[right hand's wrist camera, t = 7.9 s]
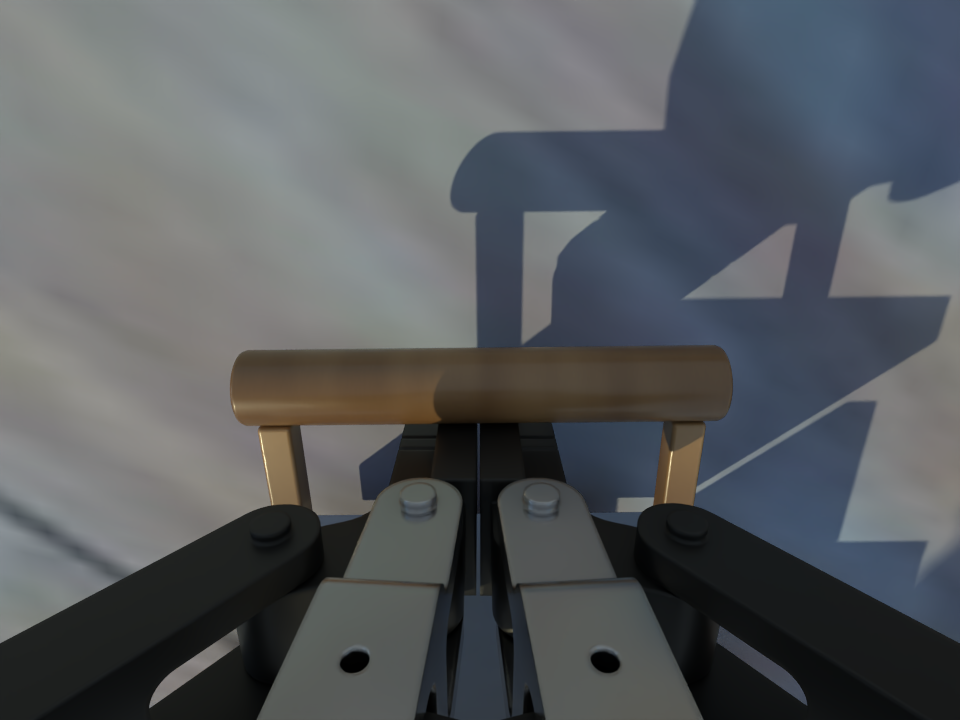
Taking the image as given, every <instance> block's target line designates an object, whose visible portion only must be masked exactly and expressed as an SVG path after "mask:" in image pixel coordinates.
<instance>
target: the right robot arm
mask: <svg viewBox="0 0 960 720" xmlns="http://www.w3.org/2000/svg"><path fill="white" fill-rule="evenodd" d="M557 448H558V447H557V443H556V439H555V435H554V431H553V427H552V423H480V596H492V612H493V617H494V619H495V621H496V641H497V649H498V657H499V665H500V673H501V681H502V689H503V697H504V705H505V713H506V719H502V720H960V643H958V642H956V641H954V640H952V639H950V638H948V637H947V636H945V635H943V634H941V633H939V632H937V631H935V630H933V629H931V628H929V627H928V626H926V625H924V624H922V623H920V622H918V621H916V620H914V619H912V618H910V617H909V616H907V615H905V614H903V613H901V612H899V611H897V610H895V609H893V608H891V607H890V606H888V605H886V604H884V603H882V602H880V601H878V600H876V599H874V598H872V597H871V596H869V595H867V594H865V593H863V592H861V591H859V590H857V589H855V588H853V587H852V586H850V585H848V584H846V583H844V582H842V581H840V580H838V579H836V578H834V577H833V576H831V575H829V574H827V573H825V572H823V571H821V570H819V569H817V568H815V567H814V566H812V565H810V564H808V563H806V562H804V561H802V560H800V559H798V558H796V557H795V556H793V555H791V554H789V553H787V552H785V551H783V550H781V549H779V548H777V547H776V546H774V545H772V544H770V543H768V542H766V541H764V540H762V539H760V538H758V537H757V536H755V535H753V534H751V533H749V532H747V531H745V530H743V529H741V528H739V527H738V526H736V525H734V524H732V523H730V522H728V521H726V520H724V519H722V518H720V517H719V516H717V515H715V514H713V513H711V512H709V511H706V510H704V509H701V508H698V507H695V506H691V505H687V504H680V503H663V504H658V505H654V506H651V507H649V508H647V509H646V510H644V511H643V512H642V513H641V514H640V516H639V518H638V521H637V527H634V526H629V525H625V524H620V523H615V522H611V521H607V520H604V519H601V518H598V517H595V516H593V515H591V514H590V512H589V509H588V507H587V504H586V502H585V500H584V498H583V496H582V495H581V494H580V493H579V491H577V490H576V489H575V488H573V487H572V486H570V485H568V484H567V483H566V479H565V475H564V471H563V467H562V463H561V459H560V455H559V451H558V449H557ZM476 572H477V423H476V424H405V427H404V431H403V435H402V439H401V442H400V446H399V450H398V454H397V458H396V462H395V465H394V469H393V473H392V477H391V481H390V484H389V486H388V487H387V488H385V489H384V490H383V491H381V493H380V494H379V495H378V496H377V498H376V500H375V502H374V505H373V507H372V509H371V511H370V512H368V513H366V514H364V515H362V516H360V517H357V518H355V519H352V520H348V521H344V522H340V523H335V524H330V525H325V526H321V523H320V519H319V517H318V516H317V514H316V513H315V512H313V511H312V510H311V509H308V508H306V507H303V506H300V505H293V504H280V505H272V506H267V507H263V508H260V509H257V510H254V511H252V512H250V513H247V514H245V515H243V516H241V517H240V518H238V519H236V520H234V521H232V522H230V523H228V524H226V525H224V526H222V527H221V528H219V529H217V530H215V531H213V532H211V533H209V534H207V535H205V536H203V537H202V538H200V539H198V540H196V541H194V542H192V543H190V544H188V545H186V546H184V547H183V548H181V549H179V550H177V551H175V552H173V553H171V554H169V555H167V556H165V557H164V558H162V559H160V560H158V561H156V562H154V563H152V564H150V565H148V566H146V567H145V568H143V569H141V570H139V571H137V572H135V573H133V574H131V575H129V576H127V577H126V578H124V579H122V580H120V581H118V582H116V583H114V584H112V585H110V586H108V587H107V588H105V589H103V590H101V591H99V592H97V593H95V594H93V595H91V596H89V597H88V598H86V599H84V600H82V601H80V602H78V603H76V604H74V605H72V606H70V607H69V608H67V609H65V610H63V611H61V612H59V613H57V614H55V615H53V616H51V617H50V618H48V619H46V620H44V621H42V622H40V623H38V624H36V625H34V626H32V627H31V628H29V629H27V630H25V631H23V632H21V633H19V634H17V635H15V636H13V637H12V638H10V639H8V640H6V641H4V642H2V643H0V720H458V719H454V713H455V705H456V697H457V689H458V681H459V673H460V665H461V657H462V649H463V641H464V596H476ZM719 626H721V627H723V628H724V629H726V630H727V631H729V632H730V633H732V634H733V635H735V636H736V637H738V638H739V639H741V640H742V641H744V642H745V643H747V644H748V645H750V646H751V647H753V648H754V649H755V650H757V651H758V652H760V653H761V654H763V655H764V656H766V657H767V658H769V659H770V660H772V661H773V662H775V663H776V664H778V665H779V666H781V667H782V668H783V669H785V670H786V671H787V672H788V673H789V674H791V675H792V676H793V678H794V679H795V680H796V681H797V682H798V684H799V685H800V686H801V688H802V690H803V692H804V694H805V696H806V700H807V705H808V706H806V705H805V704H803V703H802V702H801V701H799V700H798V699H796V698H795V697H793V696H792V695H791V694H789V693H788V692H786V691H785V690H783V689H782V688H781V687H779V686H778V685H776V684H775V683H773V682H772V681H771V680H769V679H768V678H766V677H765V676H764V675H762V674H761V673H759V672H758V671H756V670H755V669H754V668H752V667H751V666H749V665H748V664H746V663H745V662H744V661H742V660H741V659H739V658H738V657H736V656H735V655H734V654H732V653H731V652H729V651H728V650H727V649H725V648H724V647H722V646H721V645H719V644H718V643H717V637H718V632H719ZM236 628H237V633H238V638H239V643H240V645H239V646H238V647H236V648H235V649H233V650H232V651H231V652H229V653H228V654H226V655H225V656H223V657H222V658H221V659H219V660H218V661H216V662H215V663H214V664H212V665H211V666H209V667H208V668H206V669H205V670H204V671H202V672H201V673H199V674H198V675H196V676H195V677H194V678H192V679H191V680H189V681H188V682H187V683H185V684H184V685H182V686H181V687H179V688H178V689H177V690H175V691H174V692H172V693H171V694H169V695H168V696H167V697H165V698H164V699H162V700H161V701H159V702H158V703H157V704H155V705H154V706H152V707H151V708H149V704H150V700H151V698H152V695H153V693H154V692H155V690H156V688H157V687H158V685H159V684H160V683H161V682H162V681H163V679H164V678H165V677H166V676H168V675H169V674H170V673H171V672H172V671H174V670H175V669H176V668H178V667H179V666H181V665H182V664H184V663H185V662H187V661H188V660H190V659H191V658H193V657H194V656H196V655H197V654H199V653H200V652H202V651H203V650H205V649H206V648H207V647H209V646H210V645H212V644H213V643H215V642H216V641H218V640H219V639H221V638H222V637H224V636H225V635H227V634H228V633H230V632H231V631H233V630H234V629H236Z"/></svg>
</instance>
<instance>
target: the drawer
mask: <svg viewBox="0 0 960 720" xmlns="http://www.w3.org/2000/svg"><path fill="white" fill-rule="evenodd" d="M732 392H733V379H732V371H731V366H730V362H729V359H728V357H727V355H726V353H725V351H724V350H723V349H722V348H720V347H718V346H716V345H677V346H586V347H496V348H406V349H316V350H247V351H245V352H242V353H241V354H240V355H239V356H238V357H237V359H236V361H235V363H234V366H233V369H232V373H231V380H230V398H231V405H232V409H233V412H234V414H235V417H236V418H237V420H238V421H239V422H240V423H241V424H243V425H246V426H260V427H259V429H258V434H259V440H260V445H261V451H262V456H263V462H264V467H265V473H266V478H267V484H268V489H269V495H270V501H271V506H272V505H280V504H293V505H300V506H303V507H306V508H308V509H311V510H312V504H311V497H310V490H309V484H308V477H307V470H306V464H305V457H304V450H303V443H302V437H301V430H300V425H381V424H476V423H571V422H664V423H663V431H662V439H661V448H660V456H659V464H658V472H657V480H656V488H655V496H654V504H653V506H654V505H658V504H663V503H680V504H687V505H691V506H693V505H694V499H695V492H696V486H697V480H698V473H699V467H700V460H701V454H702V448H703V441H704V435H705V428H706V425H705V423H704V422H703V421H718V420H720V419H722V418H724V417H725V415H726V414H727V412H728V410H729V408H730V404H731V400H732ZM641 513H642V512H607V513H590V514H591V515H593V516H595V517H598V518H601V519H604V520H607V521H611V522H615V523H620V524H625V525H629V526H634V527H637V521H638V518H639V516H640V514H641ZM317 516H318V517H319V519H320V523H321V526H325V525H330V524H335V523H340V522H344V521H348V520H352V519H355V518H357V517H360V516H362V515H317ZM454 719H458V720H502V719H506V713H505V705H504V697H503V689H502V681H501V673H500V665H499V657H498V649H497V641H496V621H495V619H494V617H493V612H492V596H480V514H477V572H476V596H464V641H463V649H462V657H461V665H460V673H459V681H458V689H457V697H456V705H455V713H454Z"/></svg>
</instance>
